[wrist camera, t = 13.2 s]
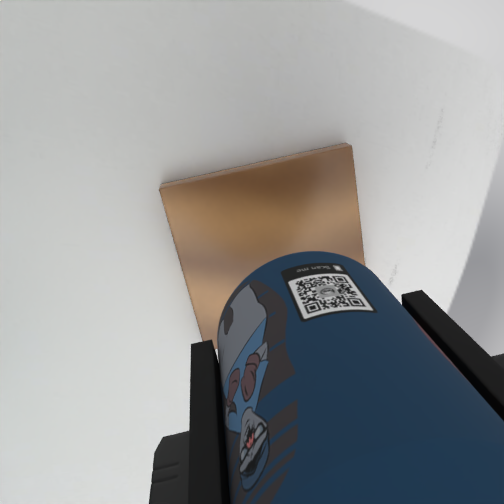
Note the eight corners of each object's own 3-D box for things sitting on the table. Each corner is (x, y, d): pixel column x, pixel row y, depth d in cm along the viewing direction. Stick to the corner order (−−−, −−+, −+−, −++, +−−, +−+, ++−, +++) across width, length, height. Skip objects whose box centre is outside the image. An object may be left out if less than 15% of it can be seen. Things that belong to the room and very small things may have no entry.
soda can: (376, 375, 20) (596, 743, 9) (223, 394, 20) (258, 813, 8) (384, 230, 18) (706, 500, 6) (207, 247, 17) (228, 578, 6)
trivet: (160, 184, 23) (158, 188, 22) (346, 142, 24) (352, 145, 23) (205, 342, 27) (205, 352, 26) (364, 304, 27) (370, 313, 26)
